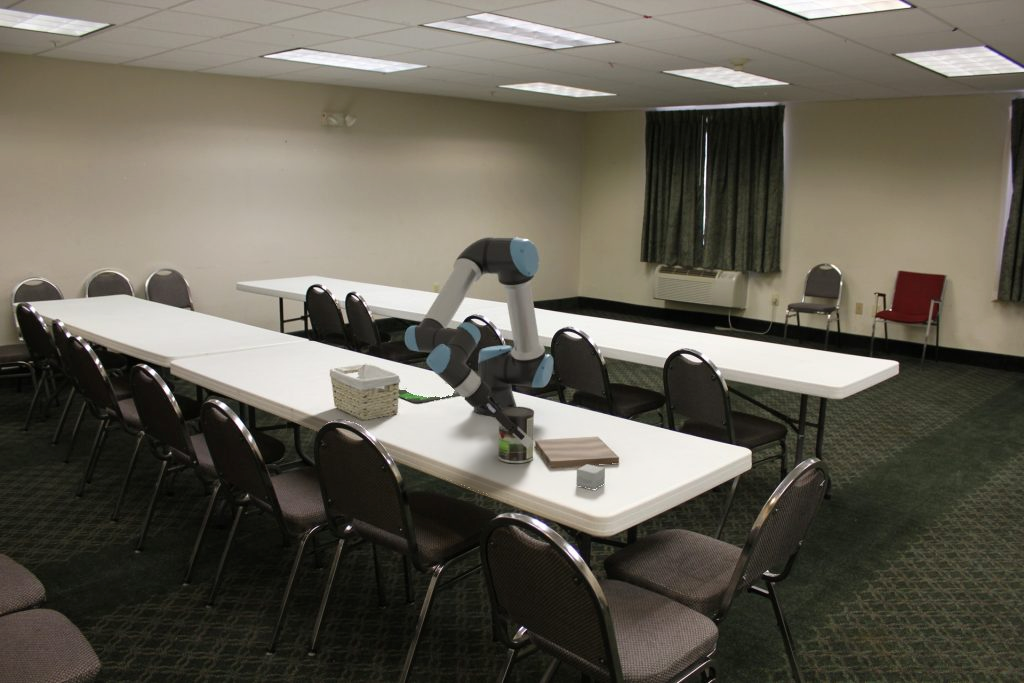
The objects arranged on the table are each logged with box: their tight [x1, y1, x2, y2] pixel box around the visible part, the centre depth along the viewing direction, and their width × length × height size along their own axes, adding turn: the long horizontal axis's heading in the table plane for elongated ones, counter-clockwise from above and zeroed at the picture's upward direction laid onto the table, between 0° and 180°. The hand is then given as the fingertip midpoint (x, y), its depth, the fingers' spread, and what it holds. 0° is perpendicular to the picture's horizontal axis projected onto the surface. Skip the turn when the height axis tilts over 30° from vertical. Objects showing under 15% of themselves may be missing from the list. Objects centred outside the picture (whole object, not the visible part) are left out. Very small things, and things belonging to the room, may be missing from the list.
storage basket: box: [329, 363, 401, 421], centre depth 278 cm, size 24×16×15 cm
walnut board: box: [534, 436, 620, 469], centre depth 233 cm, size 20×20×2 cm
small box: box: [575, 464, 606, 489], centre depth 208 cm, size 6×6×5 cm
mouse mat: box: [398, 388, 462, 404], centre depth 306 cm, size 27×22×1 cm
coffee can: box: [497, 405, 535, 464], centre depth 229 cm, size 10×10×14 cm
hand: (526, 438), depth 229 cm, fingers closed on coffee can, 10 cm apart
